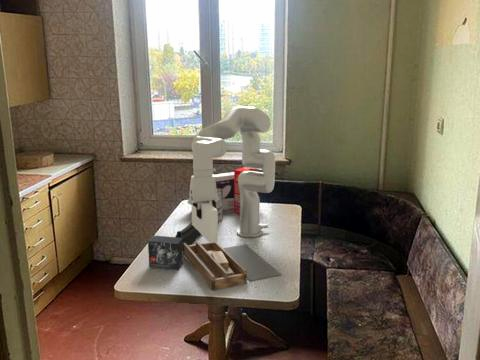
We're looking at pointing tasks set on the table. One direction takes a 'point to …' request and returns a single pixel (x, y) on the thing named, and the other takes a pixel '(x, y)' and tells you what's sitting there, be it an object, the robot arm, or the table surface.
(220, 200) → the coffee box
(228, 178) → the packaging
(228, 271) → the offcut long
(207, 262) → the rack
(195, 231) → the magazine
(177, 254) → the small box
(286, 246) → the table surface
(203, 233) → the cream rectangular panel
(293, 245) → the table surface
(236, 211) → the food packaging
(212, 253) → the offcut short
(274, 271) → the mat
